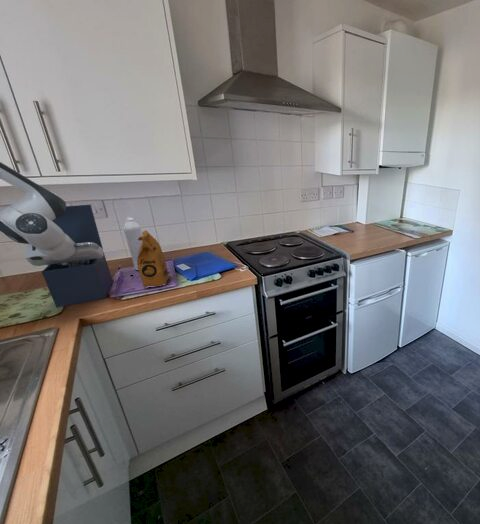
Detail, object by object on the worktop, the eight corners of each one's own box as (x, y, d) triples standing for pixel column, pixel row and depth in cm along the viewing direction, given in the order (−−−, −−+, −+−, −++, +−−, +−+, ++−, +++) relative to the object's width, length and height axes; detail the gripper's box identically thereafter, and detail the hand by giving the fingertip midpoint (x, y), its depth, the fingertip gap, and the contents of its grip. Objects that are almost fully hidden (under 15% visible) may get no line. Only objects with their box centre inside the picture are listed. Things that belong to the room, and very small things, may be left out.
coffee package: (139, 290, 122) (124, 239, 114) (146, 278, 133) (133, 230, 124) (167, 287, 125) (154, 236, 117) (172, 275, 136) (160, 228, 128)
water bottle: (134, 268, 143) (119, 217, 134) (149, 264, 147) (136, 214, 138) (137, 273, 137) (121, 220, 128) (153, 270, 141) (139, 218, 132)
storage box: (105, 298, 116) (94, 264, 111) (56, 307, 109) (41, 271, 104) (113, 281, 130) (103, 250, 125) (69, 288, 124) (57, 256, 118)
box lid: (90, 204, 120) (93, 204, 124) (41, 208, 113) (46, 207, 117) (102, 249, 124) (104, 248, 128) (56, 255, 118) (60, 253, 121)
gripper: (95, 235, 109) (109, 252, 121) (19, 242, 101) (42, 260, 112) (95, 250, 107) (110, 266, 119) (18, 259, 99) (42, 275, 110)
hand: (76, 263), depth 115 cm, fingers closed on beer can, 5 cm apart
